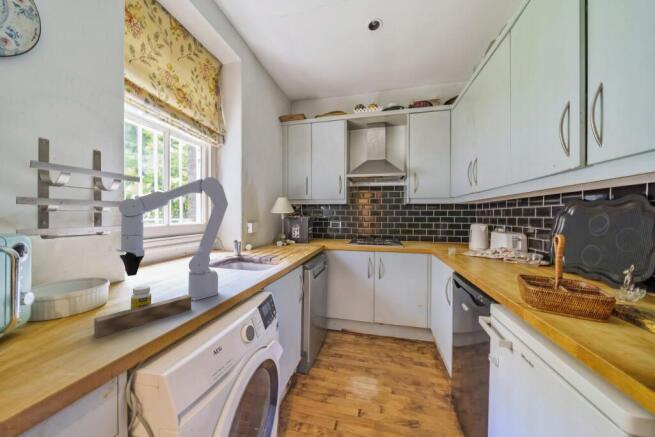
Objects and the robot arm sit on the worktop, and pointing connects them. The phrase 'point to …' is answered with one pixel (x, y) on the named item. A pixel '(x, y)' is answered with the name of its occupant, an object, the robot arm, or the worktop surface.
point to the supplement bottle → (140, 296)
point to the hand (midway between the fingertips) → (131, 275)
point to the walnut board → (140, 315)
